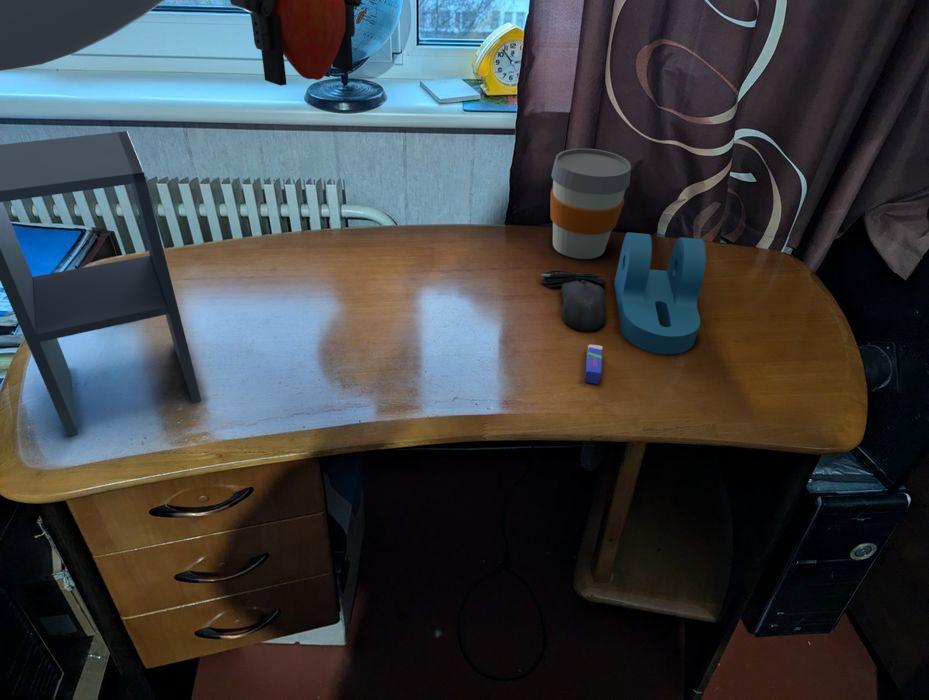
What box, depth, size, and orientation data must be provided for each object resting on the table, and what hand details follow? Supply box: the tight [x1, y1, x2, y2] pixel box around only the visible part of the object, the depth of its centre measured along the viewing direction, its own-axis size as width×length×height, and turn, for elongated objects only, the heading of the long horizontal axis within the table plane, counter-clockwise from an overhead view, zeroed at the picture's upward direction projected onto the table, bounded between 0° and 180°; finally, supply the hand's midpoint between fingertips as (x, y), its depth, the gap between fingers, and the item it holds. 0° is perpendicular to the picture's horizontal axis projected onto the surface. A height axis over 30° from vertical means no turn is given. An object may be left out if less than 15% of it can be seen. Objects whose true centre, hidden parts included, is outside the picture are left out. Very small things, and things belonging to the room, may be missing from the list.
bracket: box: [613, 231, 707, 355], centre depth 93 cm, size 18×10×10 cm, turn 173°
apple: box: [271, 0, 345, 81], centre depth 70 cm, size 9×8×11 cm
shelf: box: [0, 130, 202, 438], centre depth 70 cm, size 12×14×28 cm
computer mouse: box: [541, 269, 607, 332], centre depth 97 cm, size 10×15×4 cm
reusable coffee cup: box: [550, 147, 632, 260], centre depth 109 cm, size 13×13×15 cm
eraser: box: [584, 343, 604, 385], centre depth 85 cm, size 2×6×2 cm, turn 168°
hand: (310, 75), depth 72 cm, fingers closed on apple, 8 cm apart
